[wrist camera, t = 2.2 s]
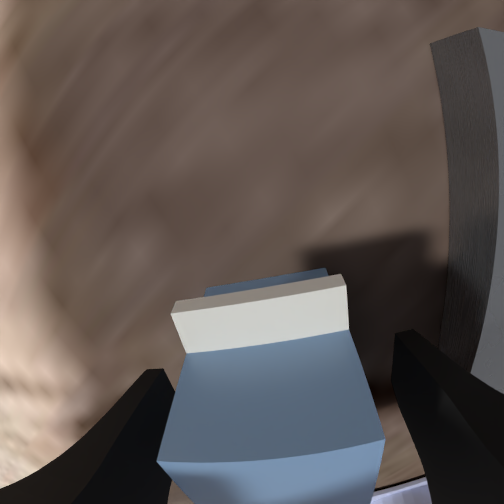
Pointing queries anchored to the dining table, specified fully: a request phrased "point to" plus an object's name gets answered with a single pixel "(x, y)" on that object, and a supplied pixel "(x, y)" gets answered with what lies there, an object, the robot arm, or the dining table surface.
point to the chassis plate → (474, 200)
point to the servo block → (272, 397)
